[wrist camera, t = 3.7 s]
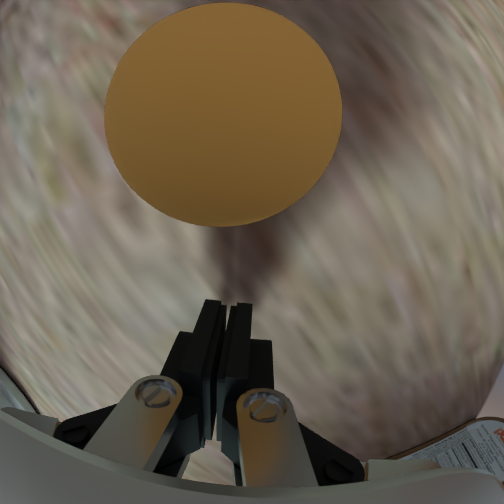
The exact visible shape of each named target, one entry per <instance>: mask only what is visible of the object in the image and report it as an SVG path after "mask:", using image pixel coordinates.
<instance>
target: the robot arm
mask: <svg viewBox="0 0 504 504" xmlns="http://www.w3.org/2000/svg"><path fill="white" fill-rule="evenodd" d="M226 311H227V305H221V301H218V300H208V299H206V300H205V302H204V305H203V307H202V310H201V313H200V315H199V318H198V320H197V323H196V326H195V328H194V331H193V333H190V332H183V331H180V332H179V334H178V335H177V338H176V340H175V342H174V344H173V347H172V349H171V351H170V353H169V355H168V358H167V360H166V362H165V364H164V367H163V369H162V371H161V374H160V375H151V376H147V377H143V378H141V379H139V380H137V381H136V382H135V383H134V384H133V385H132V386H131V387H130V389H129V390H128V391H127V392H126V394H125V395H124V396H123V398H122V399H121V400H120V402H119V403H117V404H114V405H112V406H108V407H105V408H102V409H99V410H96V411H93V412H90V413H86V414H83V415H80V416H76V417H73V418H70V419H67V420H65V421H63V422H60V421H59V420H58V418H54V417H49V416H44V415H40V414H37V413H36V412H35V410H34V409H33V407H32V406H31V404H30V403H29V402H28V400H27V399H26V398H25V396H24V395H23V394H22V393H21V391H20V390H19V389H18V388H17V386H16V385H15V384H14V383H13V382H12V380H11V379H10V378H9V377H8V376H7V375H6V373H5V372H4V371H3V370H2V369H1V368H0V504H504V485H503V484H502V483H501V481H500V480H499V479H498V478H497V477H496V476H495V475H493V474H492V473H490V472H488V471H486V470H482V469H478V468H468V467H450V468H442V467H441V466H440V465H439V464H438V463H437V462H434V461H432V460H428V459H413V460H380V459H368V461H367V462H360V461H359V460H358V459H356V458H355V457H354V456H352V455H350V454H349V453H347V452H345V451H344V450H342V449H340V448H339V447H337V446H335V445H334V444H332V443H330V442H329V441H327V440H326V439H324V438H322V437H321V436H319V435H318V434H316V433H314V432H313V431H311V430H310V429H308V428H307V427H305V426H304V425H302V424H301V423H299V422H298V421H297V418H296V415H295V412H294V409H293V406H292V403H291V402H290V400H289V398H287V397H286V396H285V395H284V394H283V393H281V392H279V391H277V390H274V376H273V355H272V341H271V340H259V339H250V337H251V321H252V304H250V303H239V302H237V306H231V309H230V314H229V319H228V324H227V328H226ZM216 412H217V441H222V443H221V451H222V452H223V453H224V454H225V455H226V456H227V457H228V458H229V459H230V460H231V461H232V470H233V480H234V486H230V485H220V484H212V483H205V482H198V481H192V480H186V479H181V478H182V476H183V473H184V471H185V469H186V467H187V464H188V462H189V459H190V454H191V453H193V452H195V451H196V450H198V449H200V447H201V448H204V445H205V440H206V439H207V440H212V436H213V430H214V424H215V418H216Z"/></svg>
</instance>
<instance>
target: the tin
mask: <svg viewBox="0 0 504 504" xmlns="http://www.w3.org/2000/svg"><path fill="white" fill-rule="evenodd" d="M413 459H428V460H432V461H434V462H437V463H438V464H439V465H440V466H441V467H442V468H450V467H468V468H478V469H482V470H486V471H488V472H490V473H492V474H493V475H495V476H496V477H497V478H498V479H499V480H500V481H501V483H502V484H503V485H504V419H503V418H498V417H482V418H477V419H474V420H471V421H469V422H467V423H465V424H463V425H461V426H459V427H457V428H456V429H454V430H452V431H450V432H448V433H446V434H444V435H442V436H440V437H438V438H436V439H433V440H431V441H429V442H427V443H425V444H422V445H420V446H418V447H415V448H413V449H410V450H408V451H405V452H403V453H400V454H397V455H395V456H392V457H389V458H387V459H385V460H413Z"/></svg>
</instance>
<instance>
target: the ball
mask: <svg viewBox="0 0 504 504" xmlns="http://www.w3.org/2000/svg"><path fill="white" fill-rule="evenodd" d="M104 123H105V133H106V138H107V142H108V146H109V150H110V153H111V155H112V158H113V160H114V163H115V165H116V167H117V168H118V170H119V172H120V174H121V175H122V177H123V178H124V180H125V181H126V182H127V184H128V185H129V186H130V187H131V189H132V190H134V191H135V192H136V193H137V194H138V195H139V196H140V197H141V198H142V199H143V200H145V201H146V202H147V203H149V204H150V205H151V206H153V207H154V208H155V209H157V210H159V211H161V212H162V213H164V214H166V215H168V216H170V217H173V218H175V219H178V220H180V221H183V222H187V223H191V224H195V225H201V226H210V227H231V226H238V225H245V224H249V223H253V222H257V221H260V220H263V219H266V218H268V217H271V216H273V215H275V214H277V213H279V212H281V211H283V210H284V209H286V208H288V207H290V206H291V205H292V204H294V203H295V202H296V201H298V200H299V199H300V198H302V197H303V196H304V195H305V194H306V193H307V192H308V191H309V190H310V189H311V188H312V187H313V186H314V185H315V183H316V182H317V181H318V180H319V178H320V177H321V176H322V174H323V173H324V171H325V170H326V168H327V166H328V164H329V163H330V161H331V159H332V157H333V154H334V152H335V150H336V147H337V144H338V140H339V136H340V133H341V126H342V99H341V93H340V88H339V84H338V81H337V78H336V75H335V72H334V69H333V67H332V65H331V63H330V62H329V60H328V58H327V56H326V55H325V53H324V52H323V50H322V49H321V48H320V46H319V45H318V44H317V43H316V42H315V41H314V40H313V38H312V37H311V36H310V35H309V34H308V33H306V32H305V31H304V30H303V29H301V28H300V27H299V26H298V25H296V24H295V23H294V22H292V21H290V20H289V19H287V18H285V17H284V16H282V15H280V14H278V13H275V12H273V11H271V10H268V9H265V8H262V7H258V6H254V5H249V4H243V3H225V2H222V3H210V4H204V5H199V6H194V7H191V8H188V9H185V10H182V11H179V12H177V13H175V14H172V15H170V16H168V17H166V18H164V19H163V20H161V21H160V22H158V23H156V24H155V25H153V26H152V27H151V28H149V29H148V30H147V31H146V32H144V33H143V34H142V35H141V36H140V37H139V38H138V39H137V40H136V41H135V42H134V43H133V44H132V46H131V47H130V48H129V49H128V51H127V52H126V53H125V55H124V56H123V58H122V59H121V61H120V63H119V64H118V66H117V68H116V71H115V73H114V75H113V77H112V80H111V82H110V86H109V89H108V92H107V97H106V103H105V114H104Z"/></svg>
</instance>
